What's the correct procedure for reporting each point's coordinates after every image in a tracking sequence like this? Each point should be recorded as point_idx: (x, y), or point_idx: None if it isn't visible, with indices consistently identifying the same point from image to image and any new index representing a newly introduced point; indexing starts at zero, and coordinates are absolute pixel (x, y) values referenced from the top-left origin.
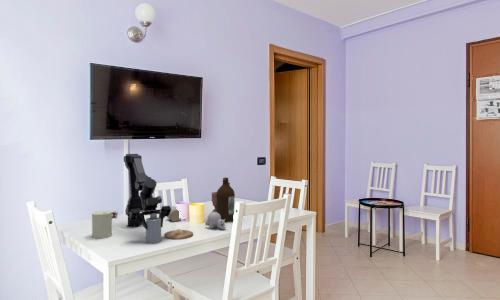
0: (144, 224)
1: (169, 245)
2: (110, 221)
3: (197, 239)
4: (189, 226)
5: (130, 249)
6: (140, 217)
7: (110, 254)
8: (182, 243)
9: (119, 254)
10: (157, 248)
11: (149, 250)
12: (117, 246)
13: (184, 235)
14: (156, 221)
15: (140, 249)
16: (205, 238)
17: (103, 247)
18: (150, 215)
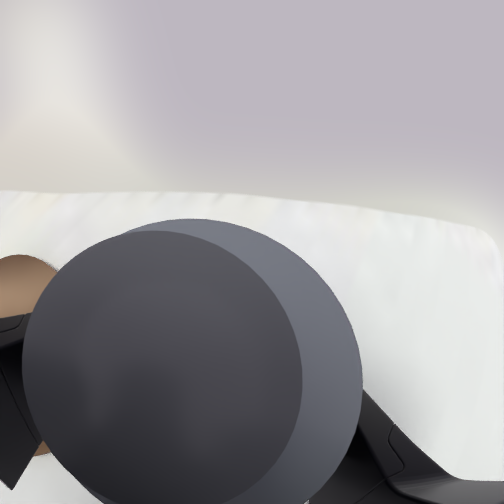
0: (366, 399)
1: (194, 216)
2: None
3: (29, 203)
4: None
5: (422, 317)
6: (462, 486)
7: (495, 304)
8: (117, 196)
9: (471, 276)
10: (288, 219)
11: (343, 222)
12: (452, 423)
13: (12, 286)
14: (219, 228)
15: (379, 276)
16: (8, 193)
17: (492, 438)
18: (286, 397)
